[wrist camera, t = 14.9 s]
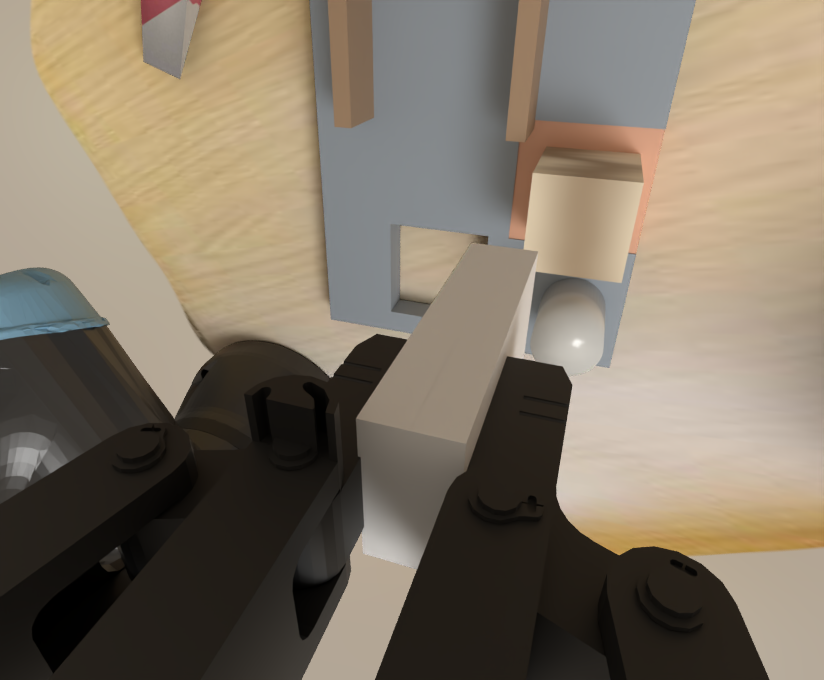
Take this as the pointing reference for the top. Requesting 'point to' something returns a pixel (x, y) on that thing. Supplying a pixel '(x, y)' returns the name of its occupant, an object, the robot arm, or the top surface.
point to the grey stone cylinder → (570, 326)
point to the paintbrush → (168, 32)
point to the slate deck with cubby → (475, 125)
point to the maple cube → (583, 212)
